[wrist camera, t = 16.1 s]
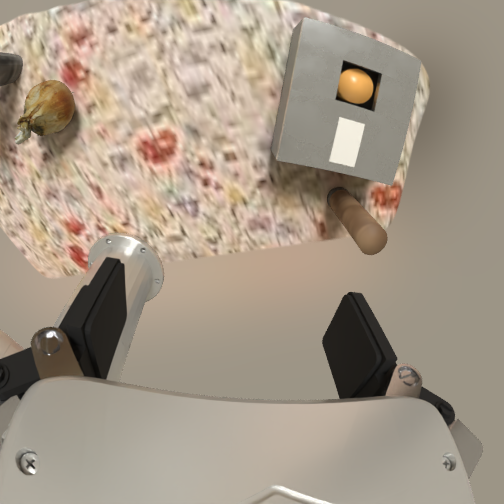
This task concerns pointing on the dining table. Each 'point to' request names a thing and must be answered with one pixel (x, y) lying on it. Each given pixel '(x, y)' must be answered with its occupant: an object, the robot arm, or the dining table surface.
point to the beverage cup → (9, 68)
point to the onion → (46, 110)
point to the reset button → (354, 86)
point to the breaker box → (344, 103)
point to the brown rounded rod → (357, 221)
